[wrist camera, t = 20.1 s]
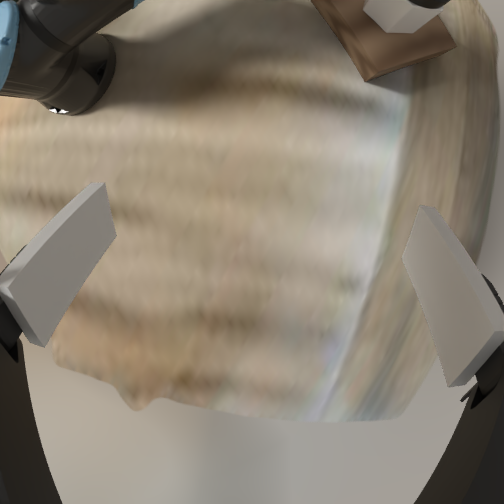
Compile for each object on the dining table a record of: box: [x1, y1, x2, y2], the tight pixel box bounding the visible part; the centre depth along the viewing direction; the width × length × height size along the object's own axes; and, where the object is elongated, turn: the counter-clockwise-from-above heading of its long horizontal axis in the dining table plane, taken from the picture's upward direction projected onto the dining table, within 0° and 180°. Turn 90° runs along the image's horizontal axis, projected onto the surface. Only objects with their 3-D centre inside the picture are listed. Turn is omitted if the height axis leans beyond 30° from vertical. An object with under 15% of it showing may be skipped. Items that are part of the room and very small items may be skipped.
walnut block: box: [311, 0, 457, 82], centre depth 32 cm, size 16×16×6 cm
